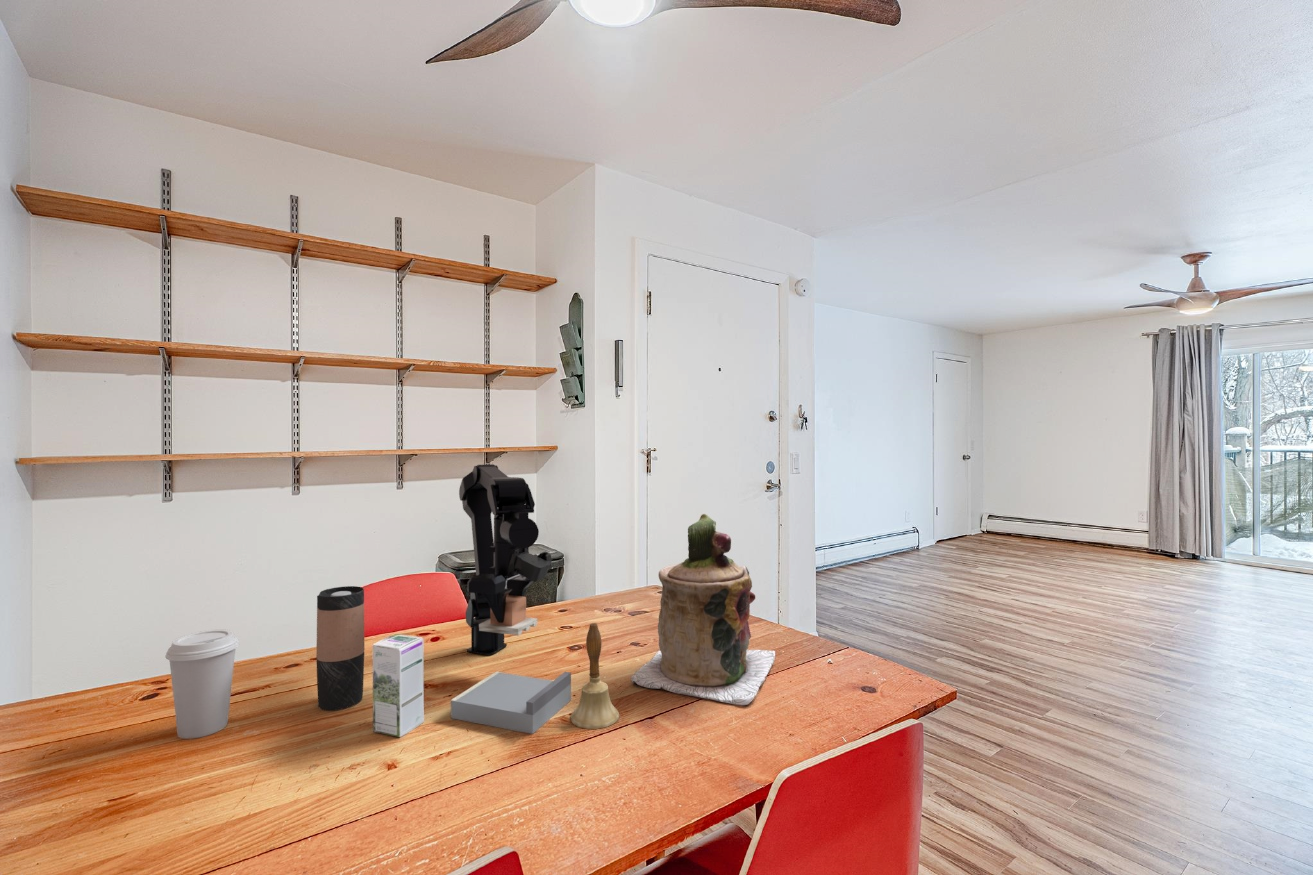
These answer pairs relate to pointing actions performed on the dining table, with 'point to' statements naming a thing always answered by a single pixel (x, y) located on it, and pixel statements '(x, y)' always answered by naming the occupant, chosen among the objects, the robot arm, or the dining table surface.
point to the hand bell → (594, 691)
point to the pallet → (508, 628)
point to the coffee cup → (202, 681)
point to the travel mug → (340, 647)
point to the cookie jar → (706, 625)
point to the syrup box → (398, 685)
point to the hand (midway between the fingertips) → (508, 618)
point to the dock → (512, 701)
